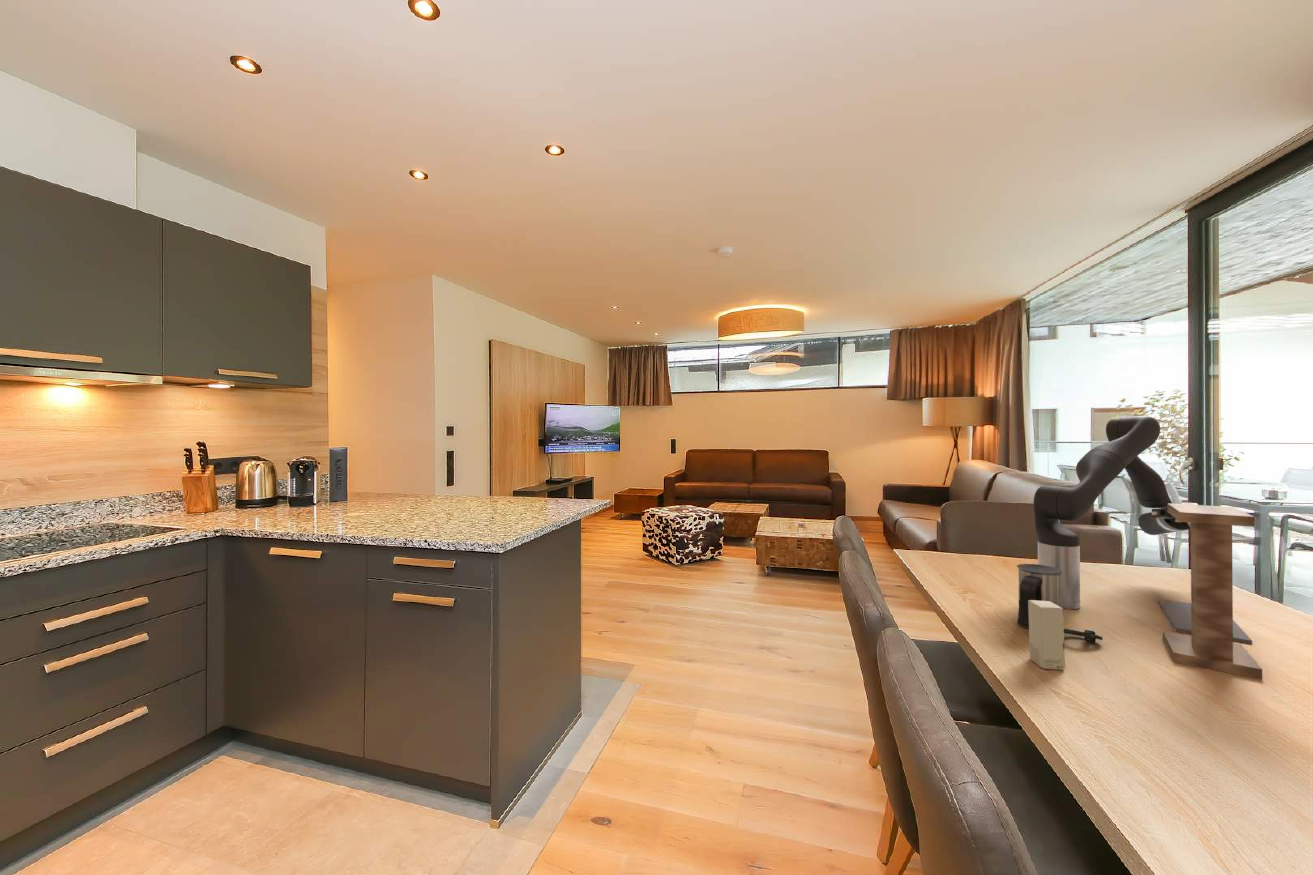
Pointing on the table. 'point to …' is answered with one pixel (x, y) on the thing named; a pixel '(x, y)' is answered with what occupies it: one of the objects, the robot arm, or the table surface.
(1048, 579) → the milk frother
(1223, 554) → the walnut pedestal
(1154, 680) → the table surface
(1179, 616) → the charcoal mat
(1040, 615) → the box
